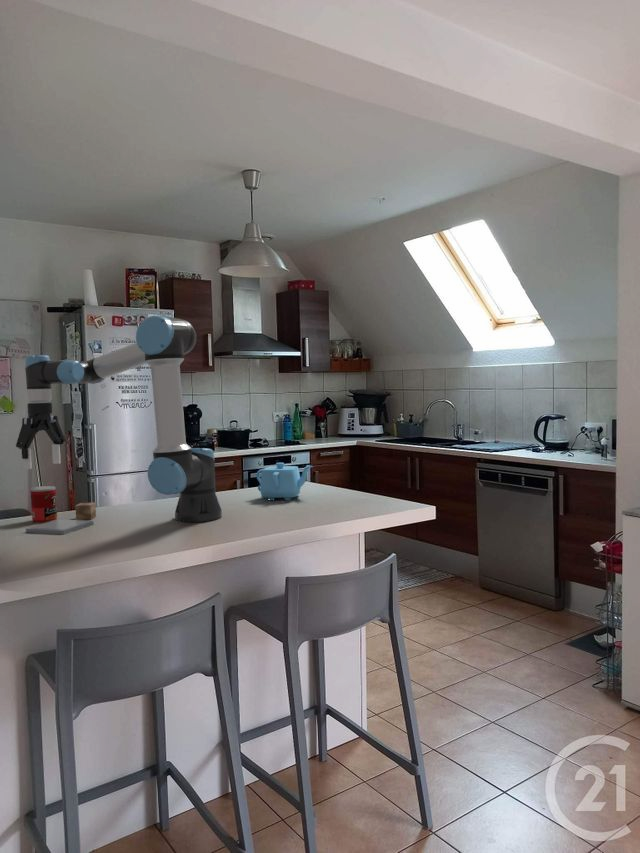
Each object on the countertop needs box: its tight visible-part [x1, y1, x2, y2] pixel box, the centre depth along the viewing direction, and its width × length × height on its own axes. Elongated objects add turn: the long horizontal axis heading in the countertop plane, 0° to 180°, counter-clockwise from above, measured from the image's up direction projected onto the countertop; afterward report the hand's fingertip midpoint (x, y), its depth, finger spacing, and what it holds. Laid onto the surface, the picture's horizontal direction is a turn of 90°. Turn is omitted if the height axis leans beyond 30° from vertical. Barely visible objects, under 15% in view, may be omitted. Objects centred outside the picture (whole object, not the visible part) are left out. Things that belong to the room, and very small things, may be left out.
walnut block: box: [74, 502, 97, 521], centre depth 223 cm, size 5×5×5 cm
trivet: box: [25, 518, 95, 535], centre depth 209 cm, size 14×14×1 cm
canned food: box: [30, 485, 58, 524], centre depth 222 cm, size 8×8×11 cm
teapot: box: [255, 462, 313, 501], centre depth 252 cm, size 18×16×14 cm
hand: (42, 466), depth 222 cm, fingers open, 13 cm apart
